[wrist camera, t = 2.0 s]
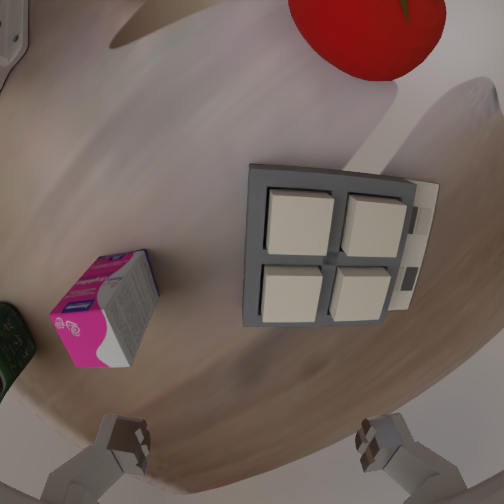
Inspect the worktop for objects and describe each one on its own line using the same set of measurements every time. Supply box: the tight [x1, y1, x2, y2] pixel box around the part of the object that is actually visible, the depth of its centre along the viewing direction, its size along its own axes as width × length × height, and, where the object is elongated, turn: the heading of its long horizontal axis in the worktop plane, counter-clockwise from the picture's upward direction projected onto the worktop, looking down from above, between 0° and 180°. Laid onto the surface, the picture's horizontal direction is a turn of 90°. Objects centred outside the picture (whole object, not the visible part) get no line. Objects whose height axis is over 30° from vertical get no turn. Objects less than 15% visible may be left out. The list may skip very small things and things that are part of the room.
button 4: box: [266, 189, 334, 256], centre depth 26 cm, size 5×5×2 cm
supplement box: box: [49, 249, 160, 368], centre depth 26 cm, size 6×6×12 cm
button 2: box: [340, 194, 407, 257], centre depth 27 cm, size 5×5×2 cm
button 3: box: [261, 264, 323, 322], centre depth 29 cm, size 5×5×2 cm
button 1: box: [328, 266, 391, 321], centre depth 30 cm, size 5×5×2 cm
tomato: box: [288, 0, 446, 81], centre depth 17 cm, size 12×12×13 cm
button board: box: [242, 164, 439, 327], centre depth 30 cm, size 16×20×3 cm
